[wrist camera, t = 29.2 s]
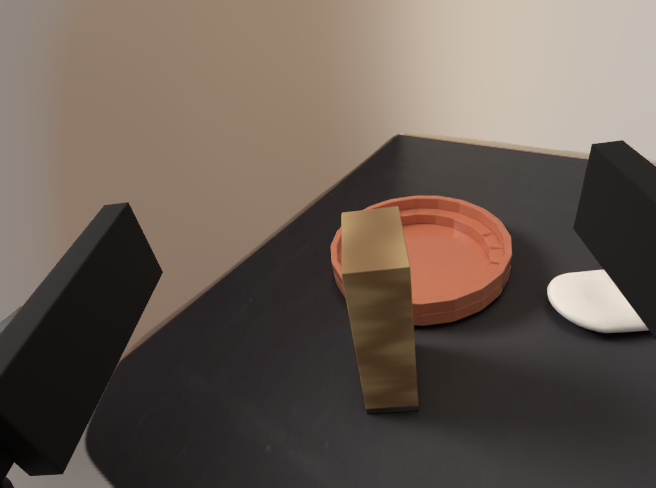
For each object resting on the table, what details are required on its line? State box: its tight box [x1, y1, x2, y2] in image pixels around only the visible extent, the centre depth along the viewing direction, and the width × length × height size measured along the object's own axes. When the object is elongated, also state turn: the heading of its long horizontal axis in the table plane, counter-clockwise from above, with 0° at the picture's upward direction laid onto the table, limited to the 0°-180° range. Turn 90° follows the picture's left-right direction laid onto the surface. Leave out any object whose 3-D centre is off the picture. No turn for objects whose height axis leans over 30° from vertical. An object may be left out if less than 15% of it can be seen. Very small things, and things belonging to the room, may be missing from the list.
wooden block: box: [341, 206, 419, 414], centre depth 29 cm, size 4×6×13 cm, turn 178°
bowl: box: [331, 196, 512, 326], centre depth 42 cm, size 16×16×3 cm
